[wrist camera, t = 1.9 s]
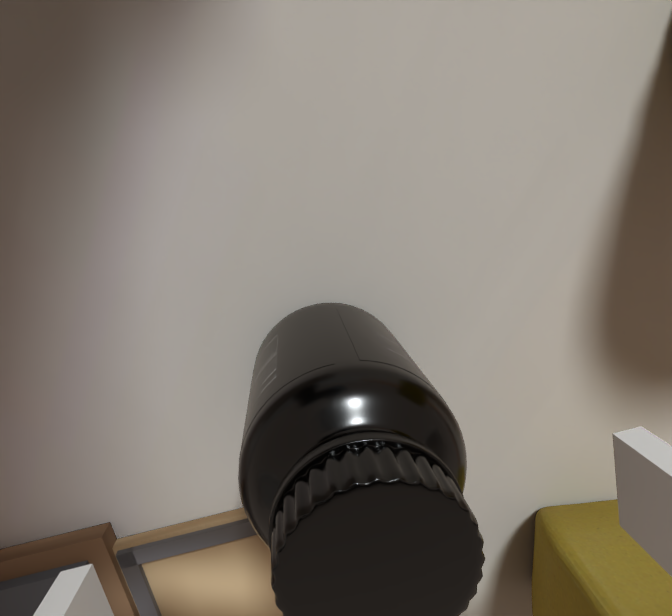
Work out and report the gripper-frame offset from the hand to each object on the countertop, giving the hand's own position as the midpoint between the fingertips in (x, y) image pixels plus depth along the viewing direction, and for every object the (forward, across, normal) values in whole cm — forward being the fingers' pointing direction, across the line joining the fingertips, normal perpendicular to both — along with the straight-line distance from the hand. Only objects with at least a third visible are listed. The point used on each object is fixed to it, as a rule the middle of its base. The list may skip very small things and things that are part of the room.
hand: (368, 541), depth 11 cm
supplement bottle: (+11, 0, +1) cm, 11 cm away
